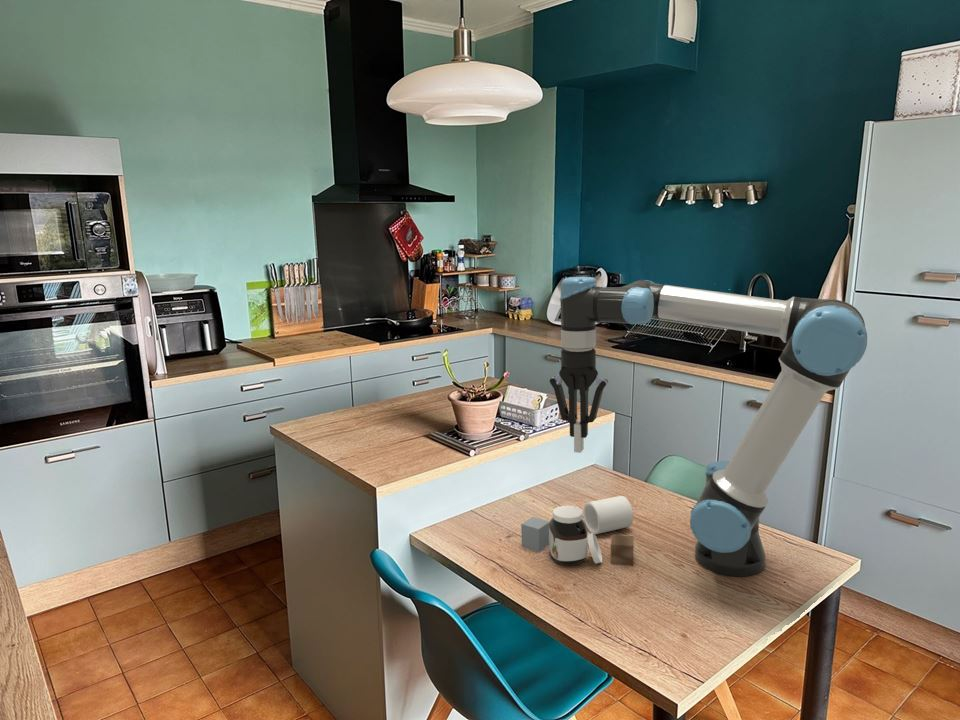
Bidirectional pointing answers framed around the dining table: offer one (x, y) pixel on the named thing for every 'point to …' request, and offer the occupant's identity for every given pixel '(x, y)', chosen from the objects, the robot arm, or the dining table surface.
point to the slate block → (535, 534)
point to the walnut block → (622, 550)
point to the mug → (608, 514)
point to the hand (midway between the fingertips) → (578, 450)
